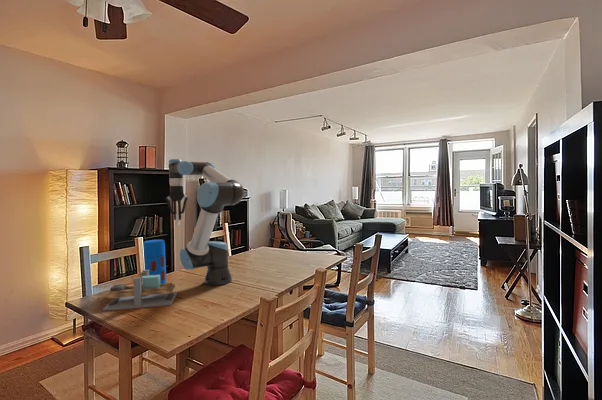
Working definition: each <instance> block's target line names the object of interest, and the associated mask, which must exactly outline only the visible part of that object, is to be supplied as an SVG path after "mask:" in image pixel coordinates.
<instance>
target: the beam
mask: <svg viewBox="0 0 602 400" xmlns="http://www.w3.org/2000/svg"><path fill="white" fill-rule="evenodd" d="M142 276H148V272H142V271H141V272H140V276H135V277H134V278H139V277H141V289H142V295H154V294H167V293H171V292H174V289H175V287H176V284H175V283H173V282H169V283H167V282H166V283H165V284H161V287H160V288H149V289H143V277H142ZM126 285H127V284H126V283H122V284H113V285H112V286H111V287H110V291H109V292H108V293H107V294H106V295H105V298H106V299H114V298H116V297H129V296H134V285H128V286H126Z"/></svg>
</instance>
